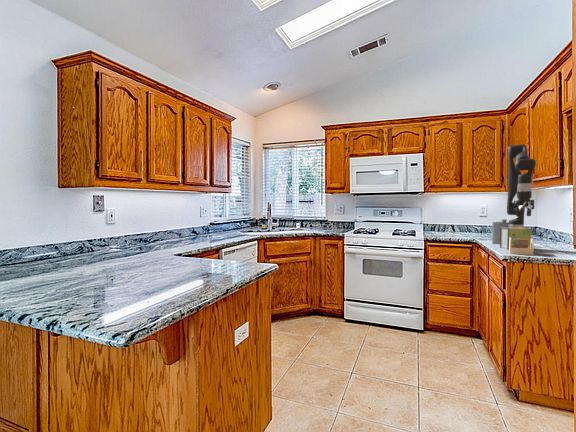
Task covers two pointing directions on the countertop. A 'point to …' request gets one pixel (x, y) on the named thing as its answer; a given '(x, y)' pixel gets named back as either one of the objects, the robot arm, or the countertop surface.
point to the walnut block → (521, 243)
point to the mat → (545, 254)
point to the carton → (521, 249)
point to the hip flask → (498, 230)
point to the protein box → (513, 236)
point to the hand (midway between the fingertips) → (523, 216)
